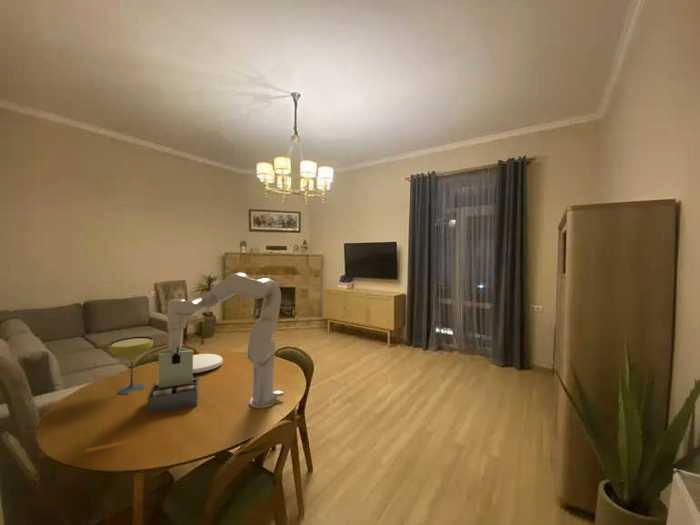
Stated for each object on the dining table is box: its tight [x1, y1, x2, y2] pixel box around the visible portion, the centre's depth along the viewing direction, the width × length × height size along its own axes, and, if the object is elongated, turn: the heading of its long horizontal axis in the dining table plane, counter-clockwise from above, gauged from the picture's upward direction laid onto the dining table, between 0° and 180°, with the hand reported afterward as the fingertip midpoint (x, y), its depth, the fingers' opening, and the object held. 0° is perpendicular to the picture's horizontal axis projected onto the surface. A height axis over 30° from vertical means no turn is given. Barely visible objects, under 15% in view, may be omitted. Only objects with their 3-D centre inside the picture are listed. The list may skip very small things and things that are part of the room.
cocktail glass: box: [108, 336, 154, 395], centre depth 148 cm, size 18×18×25 cm
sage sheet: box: [158, 349, 194, 388], centre depth 138 cm, size 14×1×18 cm, turn 116°
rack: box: [147, 376, 200, 416], centre depth 134 cm, size 19×14×9 cm
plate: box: [193, 353, 224, 374], centre depth 178 cm, size 28×6×27 cm
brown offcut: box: [153, 388, 172, 397], centre depth 129 cm, size 7×3×8 cm, turn 115°
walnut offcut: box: [176, 385, 194, 393], centre depth 133 cm, size 7×3×8 cm, turn 116°
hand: (176, 362), depth 138 cm, fingers closed on sage sheet, 1 cm apart
